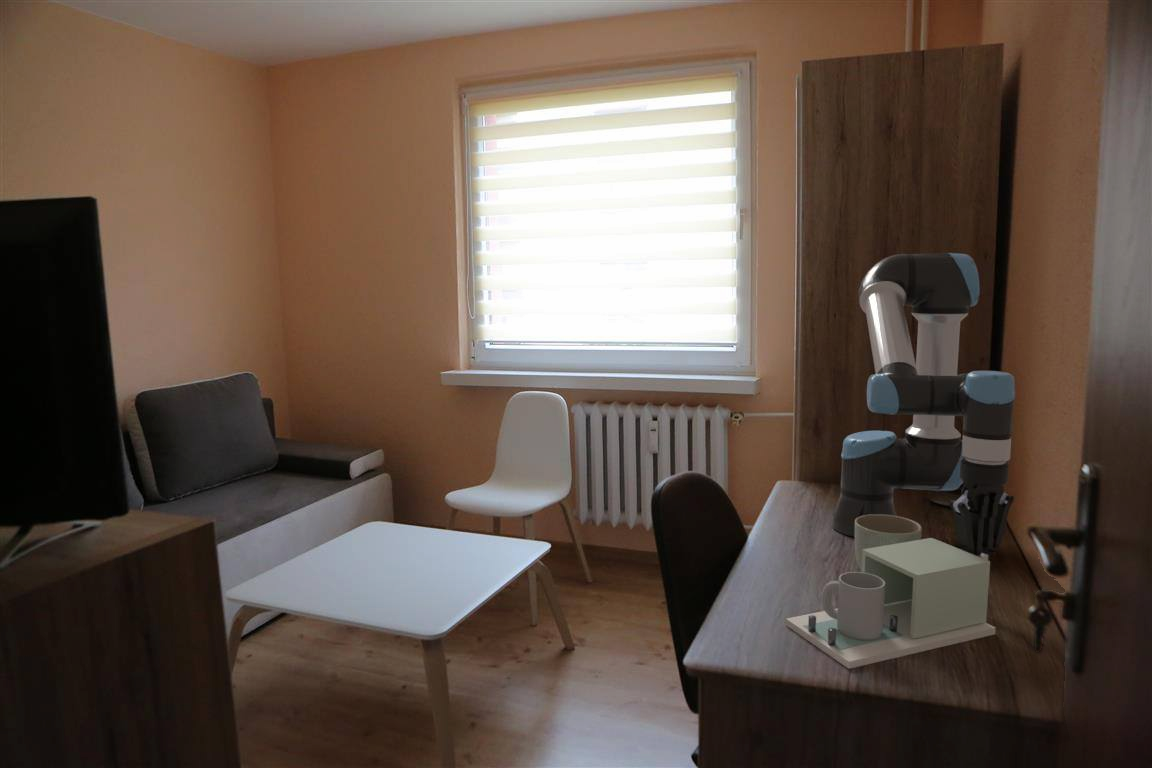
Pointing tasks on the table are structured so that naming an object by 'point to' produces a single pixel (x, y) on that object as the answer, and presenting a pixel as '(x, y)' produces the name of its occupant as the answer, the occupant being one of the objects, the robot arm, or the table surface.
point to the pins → (833, 631)
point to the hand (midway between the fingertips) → (976, 587)
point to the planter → (883, 532)
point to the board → (881, 637)
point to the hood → (932, 583)
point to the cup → (857, 604)
